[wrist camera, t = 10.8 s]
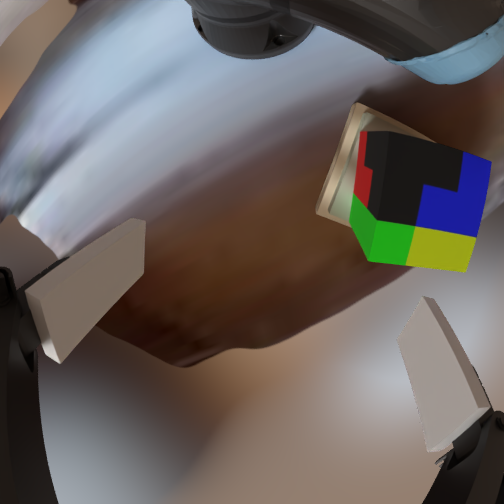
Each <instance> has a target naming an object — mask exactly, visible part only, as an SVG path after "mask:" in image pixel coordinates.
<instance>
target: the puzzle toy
mask: <svg viewBox="0 0 504 504" xmlns="http://www.w3.org/2000/svg"><path fill="white" fill-rule="evenodd" d="M491 163H492V162H491V161H488V160H486V159H483V158H480V157H478V156H475V155H472V154H470V153H467V152H464V151H461V150H458V149H455V148H452V147H448V146H445V145H442V144H439V143H435V142H432V141H428V140H425V139H421V138H417V137H413V136H409V135H405V134H401V133H397V132H392V131H361V132H360V137H359V148H358V157H357V166H356V175H355V183H354V190H353V197H352V204H351V211H350V217H349V223H350V225H351V227H352V229H353V231H354V233H355V235H356V237H357V239H358V241H359V243H360V245H361V247H362V249H363V251H364V253H365V255H366V257H367V259H368V261H372V262H381V263H390V264H398V265H407V266H415V267H424V268H432V269H441V270H449V271H458V272H466V269H467V267H468V264H469V261H470V257H471V254H472V251H473V248H474V244H475V241H476V237H477V233H478V230H479V226H480V222H481V218H482V214H483V209H484V205H485V200H486V195H487V189H488V183H489V177H490V170H491Z"/></svg>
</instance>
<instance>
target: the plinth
mask: <svg viewBox="0 0 504 504" xmlns="http://www.w3.org/2000/svg"><path fill="white" fill-rule="evenodd" d="M361 131H392V132H397V133H401V134H405V135H409V136H413V137H417V138H421V139H425V140H428V141H432V142H434V141H433V140H431V139H429V138H427V137H426V136H424V135H422V134H421V133H419V132H417V131H415V130H413V129H412V128H410V127H408V126H406V125H404V124H402V123H400V122H398V121H396V120H395V119H393V118H391V117H389V116H386V115H384V114H382V113H380V112H378V111H376V110H374V109H372V108H369V107H367V106H365V105H363V104H360V103H358V102H357V103H355V104H353V105H352V107H351V110H350V113H349V116H348V119H347V122H346V125H345V128H344V131H343V134H342V136H341V139H340V142H339V145H338V148H337V150H336V153H335V156H334V159H333V162H332V164H331V167H330V170H329V172H328V175H327V178H326V180H325V183H324V186H323V188H322V191H321V194H320V196H319V199H318V201H317V204H316V207H315V209H316V214H318V215H321V216H323V217H326V218H328V219H331V220H334V221H336V222H339V223H341V224H344V225H346V226H349V227H351V225H350V223H349V217H350V211H351V204H352V197H353V190H354V183H355V175H356V166H357V157H358V148H359V137H360V132H361ZM435 143H436V142H435Z"/></svg>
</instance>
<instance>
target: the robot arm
mask: <svg viewBox="0 0 504 504" xmlns="http://www.w3.org/2000/svg"><path fill="white" fill-rule="evenodd" d="M185 1H186V2H187V3H188V4H189V5H190V6H191V8H192V17H193V22H194V25H195V27H196V29H197V31H198V33H199V34H200V36H201V37H202V38H203V39H204V40H205V41H206V42H207V43H208V44H209V45H211V46H212V47H213V48H214V49H216V50H218V51H219V52H221V53H223V54H226V55H228V56H232V57H235V58H241V59H265V58H270V57H274V56H277V55H280V54H283V53H285V52H287V51H289V50H291V49H293V48H294V47H296V46H297V45H299V44H300V43H301V42H302V41H303V40H304V39H305V38H306V37H307V36H308V34H309V33H310V31H311V30H312V28H313V25H314V24H315V25H318V26H321V27H323V28H326V29H328V30H330V31H333V32H335V33H337V34H340V35H342V36H344V37H346V38H348V39H351V40H353V41H355V42H357V43H359V44H361V45H363V46H365V47H367V48H369V49H371V50H372V51H374V52H376V53H378V54H380V55H382V56H383V57H384V58H385V59H386V60H387V61H389V62H391V63H393V64H396V65H401V66H403V67H404V68H406V69H408V70H410V71H411V72H413V73H415V74H416V75H418V76H420V77H421V78H423V79H425V80H427V81H429V82H432V83H435V84H458V83H462V82H465V81H468V80H470V79H473V78H475V77H477V76H479V75H480V74H482V73H484V72H485V71H487V70H488V69H489V68H491V67H492V66H493V65H495V64H496V63H497V62H498V61H499V60H500V59H501V58H502V57H503V56H504V0H185ZM145 228H146V221H143V220H139V219H135V218H131V219H129V220H127V221H126V222H124V223H122V224H121V225H119V226H117V227H116V228H114V229H113V230H111V231H109V232H108V233H106V234H105V235H103V236H101V237H100V238H98V239H97V240H95V241H94V242H92V243H91V244H89V245H88V246H86V247H85V248H83V249H82V250H80V251H79V252H77V253H76V254H74V255H73V256H71V257H66V258H63V259H60V260H58V261H56V262H55V263H53V264H52V265H50V266H49V267H48V269H47V268H46V269H45V270H43V271H42V272H41V274H38V275H36V276H35V277H34V278H32V279H31V280H30V281H28V282H27V283H26V284H24V285H23V286H22V287H21V288H19V289H18V290H16V287H15V283H14V279H13V275H12V272H11V270H10V269H9V268H7V267H0V504H58V500H57V497H56V494H55V490H54V486H53V483H52V479H51V474H50V470H49V466H48V461H47V456H46V451H45V445H44V438H43V431H42V424H41V416H40V404H39V388H38V353H37V349H36V348H37V346H38V345H39V344H40V343H41V344H42V346H43V349H44V351H45V354H46V355H48V356H49V357H50V358H52V359H54V360H55V361H57V362H58V363H62V362H63V360H64V359H65V358H66V357H67V356H68V355H69V353H70V352H71V351H72V350H73V349H74V347H75V346H76V345H77V344H78V343H79V342H80V341H81V340H82V338H83V337H84V336H85V335H86V334H87V333H88V332H89V331H90V329H91V328H92V327H93V326H94V325H95V324H96V323H97V322H98V321H99V320H100V319H101V317H102V316H103V315H104V314H105V313H106V312H107V311H108V310H109V309H110V308H111V307H112V306H113V305H114V304H115V302H116V301H117V300H118V299H119V298H120V297H121V296H122V295H123V294H124V293H125V292H126V291H127V290H128V289H129V288H130V287H131V286H132V285H133V284H134V283H135V282H136V281H137V280H138V279H139V278H140V277H141V276H142V275H143V274H144V247H145ZM397 342H398V345H399V348H400V351H401V354H402V357H403V360H404V363H405V366H406V370H407V373H408V376H409V379H410V383H411V386H412V390H413V393H414V397H415V400H416V404H417V408H418V412H419V416H420V420H421V423H422V428H423V433H424V437H425V442H426V447H427V452H435V451H441V450H443V449H444V448H446V447H447V446H448V445H449V444H450V443H453V447H454V448H453V449H451V450H450V451H449V452H447V453H446V454H445V455H444V456H442V457H441V458H439V459H438V460H437V461H436V462H435V464H438V463H439V462H441V461H442V460H444V463H442V464H441V465H440V466H439V467H440V468H441V469H440V471H439V473H438V475H437V477H436V479H435V481H434V483H433V485H432V487H431V489H430V491H429V492H428V494H427V496H426V498H425V499H424V501H423V503H422V504H504V413H503V412H501V411H495V412H494V410H493V408H492V406H491V403H490V401H489V398H488V396H487V394H486V392H485V389H484V387H483V386H482V383H481V381H480V379H478V378H479V377H478V374H477V372H476V370H475V369H474V367H473V366H472V365H471V363H470V361H469V359H468V357H467V355H466V353H465V351H464V349H463V348H462V346H461V344H460V342H459V340H458V338H457V337H456V335H455V333H454V331H453V329H452V328H451V326H450V324H449V323H448V321H447V319H446V318H445V316H444V315H443V313H442V311H441V309H440V308H439V306H438V305H437V303H436V301H435V300H434V299H432V298H428V297H425V296H422V298H421V299H420V301H419V303H418V305H417V307H416V308H415V310H414V312H413V314H412V316H411V317H410V319H409V321H408V322H407V324H406V326H405V327H404V329H403V331H402V332H401V334H400V335H399V337H398V339H397Z"/></svg>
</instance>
